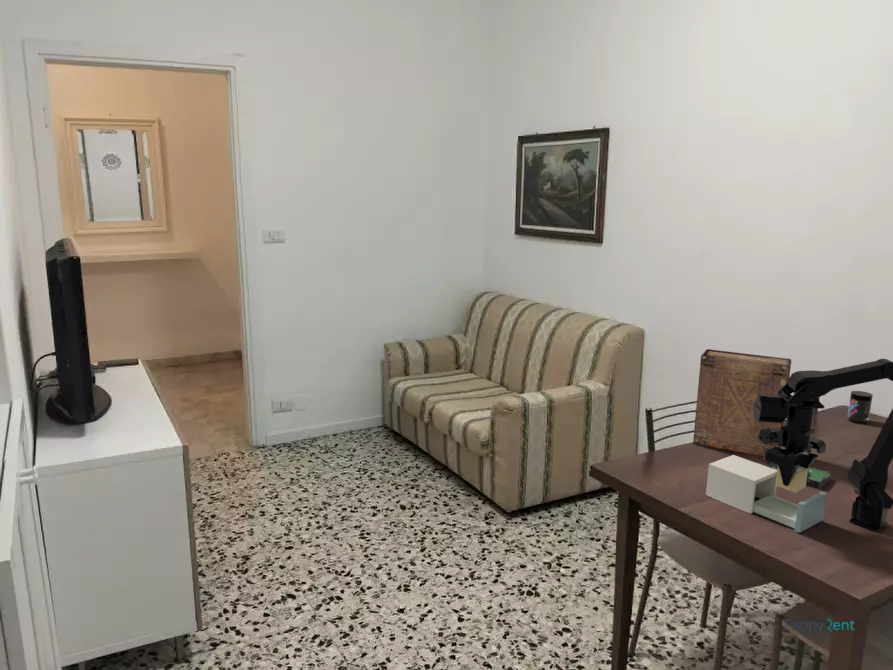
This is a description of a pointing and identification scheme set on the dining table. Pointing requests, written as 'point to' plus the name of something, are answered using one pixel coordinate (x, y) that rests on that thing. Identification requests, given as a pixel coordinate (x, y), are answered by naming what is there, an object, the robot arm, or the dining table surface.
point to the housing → (740, 482)
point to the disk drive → (812, 476)
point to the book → (736, 399)
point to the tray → (793, 511)
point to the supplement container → (859, 407)
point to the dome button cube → (794, 480)
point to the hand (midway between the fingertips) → (791, 482)
